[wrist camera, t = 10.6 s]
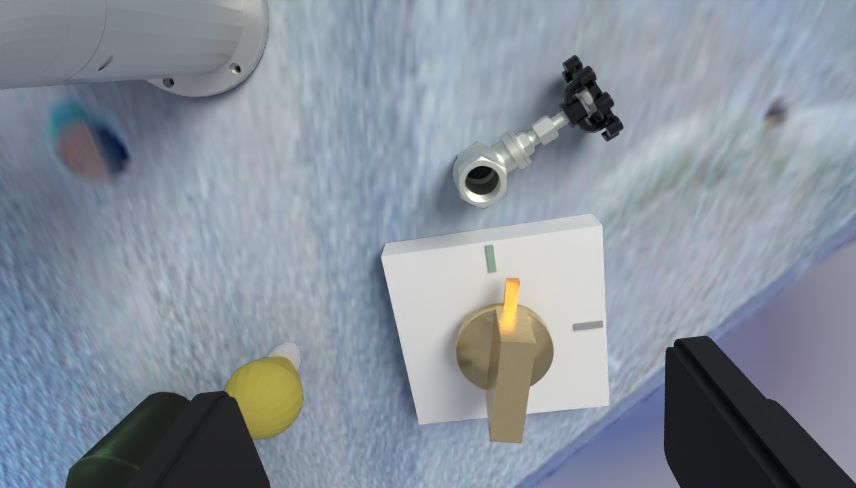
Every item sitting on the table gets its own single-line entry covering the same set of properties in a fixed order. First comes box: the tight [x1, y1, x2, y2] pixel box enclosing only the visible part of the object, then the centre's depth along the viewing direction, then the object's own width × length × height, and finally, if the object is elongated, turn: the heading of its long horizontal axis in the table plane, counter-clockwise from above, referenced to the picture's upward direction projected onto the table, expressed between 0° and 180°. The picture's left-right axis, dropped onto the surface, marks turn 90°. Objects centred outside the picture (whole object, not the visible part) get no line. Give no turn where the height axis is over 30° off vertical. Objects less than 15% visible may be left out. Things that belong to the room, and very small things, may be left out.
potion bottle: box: [65, 392, 190, 488], centre depth 42 cm, size 8×8×18 cm
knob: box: [456, 278, 554, 443], centre depth 37 cm, size 11×8×8 cm
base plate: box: [381, 214, 609, 425], centre depth 42 cm, size 18×18×3 cm
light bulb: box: [224, 342, 304, 439], centre depth 42 cm, size 7×7×10 cm
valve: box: [453, 55, 624, 209], centre depth 34 cm, size 7×7×12 cm
